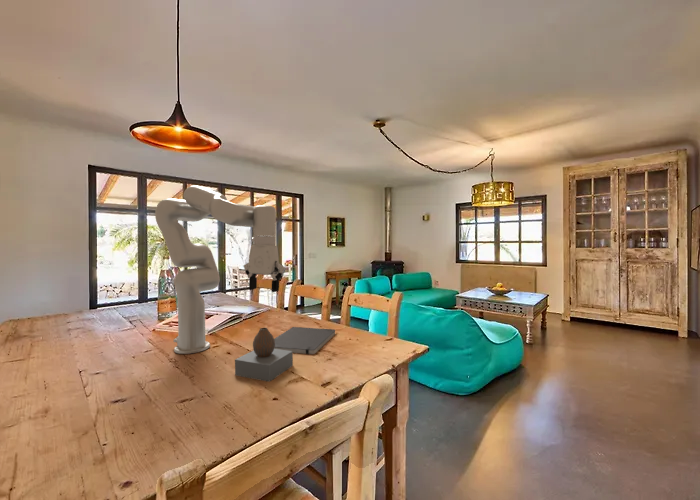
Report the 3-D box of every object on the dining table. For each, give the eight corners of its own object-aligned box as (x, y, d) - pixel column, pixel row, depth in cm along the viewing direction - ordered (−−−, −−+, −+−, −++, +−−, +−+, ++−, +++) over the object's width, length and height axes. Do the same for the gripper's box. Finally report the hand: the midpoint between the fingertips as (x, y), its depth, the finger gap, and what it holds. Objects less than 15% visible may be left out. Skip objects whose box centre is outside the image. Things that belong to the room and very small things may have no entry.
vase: (269, 359, 99) (268, 332, 99) (249, 358, 100) (248, 331, 100) (278, 352, 106) (277, 326, 106) (259, 350, 107) (258, 325, 107)
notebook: (293, 331, 150) (262, 351, 123) (292, 326, 150) (262, 345, 122) (336, 334, 144) (314, 355, 117) (336, 329, 144) (314, 349, 117)
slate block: (235, 375, 99) (234, 359, 99) (261, 360, 112) (261, 346, 111) (269, 381, 95) (269, 365, 94) (292, 365, 107) (292, 351, 107)
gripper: (237, 240, 109) (237, 289, 110) (278, 242, 102) (277, 294, 103) (252, 240, 116) (251, 286, 117) (291, 242, 109) (290, 290, 110)
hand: (263, 290), depth 110 cm, fingers open, 9 cm apart
